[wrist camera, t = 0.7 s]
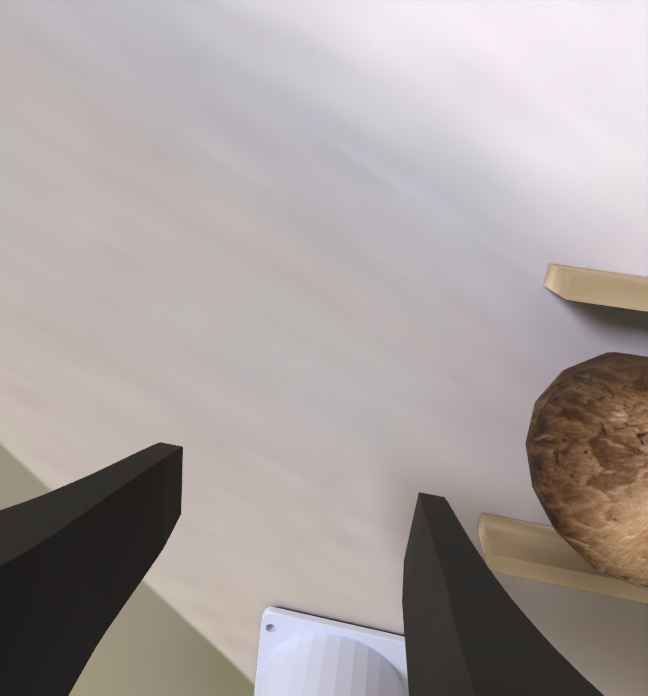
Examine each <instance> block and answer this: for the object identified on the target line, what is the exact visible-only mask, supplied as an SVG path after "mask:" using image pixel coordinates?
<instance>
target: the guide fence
mask: <svg viewBox="0 0 648 696" xmlns="http://www.w3.org/2000/svg"><path fill="white" fill-rule="evenodd" d="M544 286H545V287H547V288H548V289H550V290H551V291H553V292H555V293H556V294H558V295H559V296H561V297H562V298H564V299H566V300H571V301H578V302H585V303H592V304H599V305H606V306H612V307H619V308H626V309H633V310H640V311H647V312H648V277H643V276H636V275H628V274H621V273H614V272H607V271H599V270H592V269H585V268H578V267H570V266H563V265H556V264H549V267H548V271H547V275H546V278H545V282H544ZM477 529H478V533H479V537H480V542H481V546H482V550H483V555H484V559H485V563H486V565H487V566H488V568H489V569H490V571H492V572H496V573H501V574H506V575H511V576H516V577H520V578H525V579H530V580H535V581H540V582H545V583H549V584H554V585H559V586H564V587H569V588H573V589H578V590H583V591H588V592H593V593H598V594H602V595H607V596H612V597H617V598H622V599H627V600H631V601H636V602H641V603H646V604H648V589H642V588H640V587H637V586H635V585H632V584H630V583H627V582H625V581H623V580H620V579H618V578H615V577H613V576H610V575H608V574H605V573H603V572H601V571H598V570H596V569H594V568H593V567H592V566H591V565H590V564H589V563H588V562H587V561H586V560H585V559H584V558H583V557H582V556H581V555H580V554H579V553H578V552H576V551H575V550H574V549H573V548H572V547H571V546H570V545H569V544H568V543H567V542H566V541H565V540H564V539H563V538H562V537H561V536H560V535H559V534H558V533H557V532H556V531H555V530H554V528H553V527H551V526H546V525H541V524H536V523H531V522H525V521H520V520H515V519H510V518H505V517H500V516H495V515H490V514H484V513H481V517H480V520H479V524H478V528H477Z"/></svg>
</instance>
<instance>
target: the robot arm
mask: <svg viewBox="0 0 648 696" xmlns="http://www.w3.org/2000/svg"><path fill="white" fill-rule="evenodd" d="M182 459H183V447H181V446H176V445H171V444H166V443H161V442H160V443H158V444H155V445H153V446H150V447H148V448H146V449H144V450H141V451H139V452H137V453H135V454H133V455H131V456H129V457H127V458H125V459H123V460H121V461H118V462H116V463H114V464H112V465H110V466H108V467H106V468H104V469H102V470H99V471H97V472H95V473H93V474H91V475H89V476H87V477H84V478H82V479H80V480H77V481H75V482H73V483H70V484H68V485H66V486H63V487H61V488H59V489H56V490H54V491H52V492H49V493H47V494H44V495H42V496H39V497H37V498H34V499H31V500H29V501H26V502H23V503H20V504H18V505H14V506H11V507H9V508H6V509H3V510H0V696H68V695H69V693H70V692H71V690H72V688H73V686H74V685H75V683H76V681H77V679H78V678H79V676H80V674H81V672H82V670H83V669H84V667H85V665H86V663H87V662H88V660H89V658H90V657H91V654H92V653H93V651H94V649H95V648H96V646H97V645H98V643H99V641H100V640H101V638H102V637H103V635H104V634H105V632H106V631H107V629H108V628H109V626H110V625H111V623H112V622H113V621H114V619H115V618H116V616H117V615H118V613H119V612H120V610H121V609H122V608H123V606H124V605H125V603H126V602H127V600H128V599H129V598H130V596H131V595H132V593H133V592H134V590H135V589H136V588H137V586H138V585H139V583H140V582H141V580H142V579H143V578H144V576H145V575H146V573H147V572H148V570H149V569H150V567H151V566H152V564H153V563H154V561H155V560H156V559H157V557H158V556H159V554H160V553H161V551H162V550H163V548H164V546H165V544H166V542H167V540H168V538H169V537H170V535H171V533H172V531H173V529H174V527H175V525H176V523H177V521H178V519H179V517H180V515H181V495H182ZM402 605H403V620H404V635H405V637H404V636H400V635H395V634H391V633H386V632H382V631H378V630H373V629H369V628H364V627H360V626H356V625H351V624H347V623H342V622H338V621H333V620H329V619H325V618H320V617H316V616H311V615H307V614H302V613H298V612H294V611H289V610H285V609H280V608H276V607H268V608H266V609H265V610H264V613H263V616H262V623H261V632H260V642H259V652H258V662H257V672H256V681H255V692H254V696H604V695H603V694H602V693H601V692H599V691H598V690H597V689H596V688H595V687H594V686H593V685H592V684H591V683H590V682H589V681H587V680H586V679H585V678H584V677H583V676H582V675H581V674H580V673H579V672H578V671H577V670H576V669H575V668H574V667H573V666H572V665H571V664H570V663H569V662H568V661H567V660H566V659H565V658H564V657H563V656H562V655H561V654H560V653H559V652H558V651H557V650H556V649H555V648H554V647H553V646H552V645H551V644H550V642H549V641H548V640H547V639H546V638H545V637H544V636H543V635H542V634H541V633H540V632H539V630H538V629H537V628H536V627H535V626H534V625H533V624H532V622H531V621H530V620H529V619H528V618H527V617H526V616H525V614H524V613H523V612H522V611H521V610H520V609H519V607H518V606H517V605H516V604H515V603H514V601H513V600H512V599H511V598H510V596H509V595H508V594H507V592H506V591H505V590H504V588H503V587H502V586H501V584H500V583H499V582H498V580H497V579H496V578H495V576H494V575H493V573H492V572H491V571H490V569H489V568H488V566H487V565H486V563H485V562H484V560H483V559H482V557H481V556H480V554H479V553H478V551H477V550H476V548H475V547H474V545H473V543H472V542H471V540H470V539H469V537H468V535H467V534H466V532H465V531H464V529H463V527H462V526H461V524H460V522H459V520H458V519H457V517H456V515H455V514H454V512H453V510H452V508H451V507H450V505H449V503H448V502H447V500H446V499H445V497H440V496H435V495H430V494H425V493H420V492H419V494H418V499H417V504H416V508H415V513H414V517H413V522H412V526H411V531H410V536H409V540H408V545H407V549H406V554H405V559H404V573H403V597H402ZM270 624H272V625H274V626H272V625H270Z"/></svg>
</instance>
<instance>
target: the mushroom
mask: <svg viewBox="0 0 648 696" xmlns="http://www.w3.org/2000/svg"><path fill="white" fill-rule="evenodd" d="M526 450H527V456H528V462H529V468H530V475H531V481H532V487H533V489H534V491H535V493H536V495H537V497H538V499H539V501H540V503H541V505H542V506H543V508H544V510H545V512H546V514H547V516H548V518H549V520H550V522H551V524H552V526H553V528H554V530H555V531H556V532H557V533H558V534H559V535H560V536H561V537H562V538H563V539H564V540H565V541H566V542H567V543H568V544H569V545H570V546H571V547H572V548H573V549H574V550H575V551H576V552H578V553H579V554H580V555H581V556H582V557H583V558H584V559H585V560H586V561H587V562H588V563H589V564H590V565H591V566H592V567H593V568H594V569H596V570H598V571H601V572H603V573H605V574H608V575H610V576H613V577H615V578H618V579H620V580H623V581H625V582H627V583H630V584H632V585H635V586H637V587H640V588H642V589H648V357H645V356H638V355H631V354H624V353H617V352H612V353H605V354H602V355H600V356H597V357H595V358H592V359H590V360H587V361H585V362H582V363H580V364H577V365H575V366H572V367H570V368H568V369H566V370H564V371H562V372H561V373H560V374H559V376H558V377H557V378H556V379H555V380H554V381H553V382H552V384H551V385H550V386H549V387H548V388H547V389H546V390H545V391H544V393H543V394H542V395H541V396H540V397H539V398H538V399H537V401H536V402H535V405H534V409H533V413H532V418H531V422H530V427H529V431H528V435H527V440H526Z"/></svg>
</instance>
